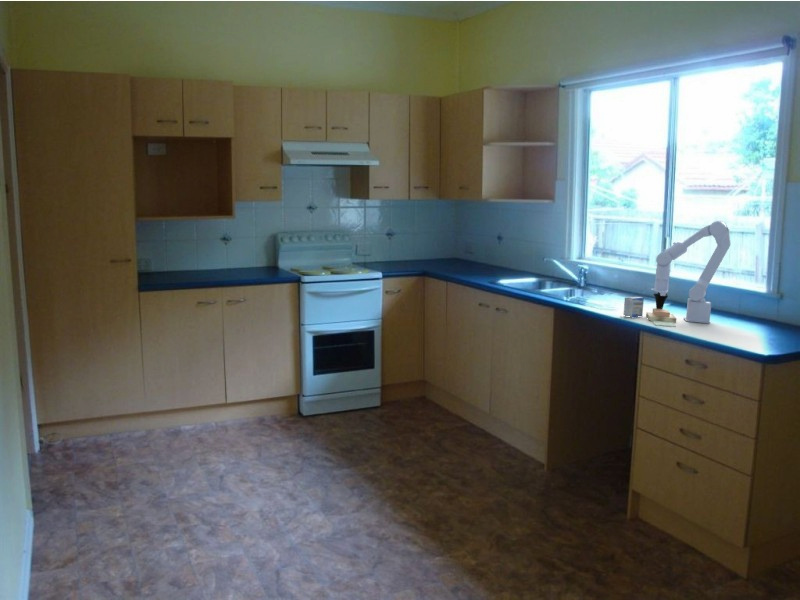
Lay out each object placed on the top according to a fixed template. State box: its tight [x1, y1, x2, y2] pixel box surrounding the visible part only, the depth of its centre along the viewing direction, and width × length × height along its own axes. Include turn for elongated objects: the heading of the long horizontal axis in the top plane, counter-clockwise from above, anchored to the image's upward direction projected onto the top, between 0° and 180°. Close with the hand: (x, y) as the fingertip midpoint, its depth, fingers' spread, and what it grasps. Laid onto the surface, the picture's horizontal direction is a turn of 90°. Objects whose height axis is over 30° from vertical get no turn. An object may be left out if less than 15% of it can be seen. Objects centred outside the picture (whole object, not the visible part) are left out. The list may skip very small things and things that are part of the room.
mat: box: [652, 321, 676, 328], centre depth 307 cm, size 8×10×1 cm
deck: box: [645, 311, 677, 324], centre depth 317 cm, size 11×11×2 cm
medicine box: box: [623, 296, 645, 318], centre depth 322 cm, size 8×4×9 cm, turn 126°
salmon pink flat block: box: [651, 307, 671, 317], centre depth 317 cm, size 6×9×2 cm, turn 167°
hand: (659, 309), depth 324 cm, fingers closed
